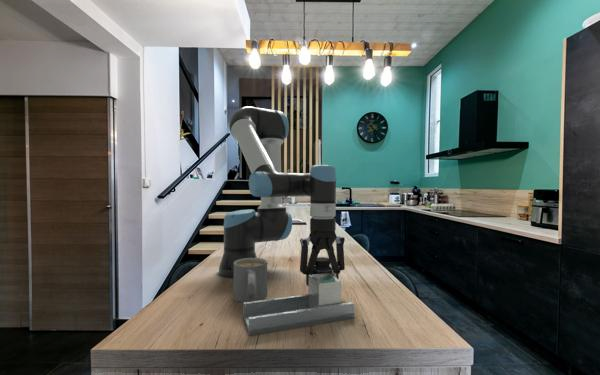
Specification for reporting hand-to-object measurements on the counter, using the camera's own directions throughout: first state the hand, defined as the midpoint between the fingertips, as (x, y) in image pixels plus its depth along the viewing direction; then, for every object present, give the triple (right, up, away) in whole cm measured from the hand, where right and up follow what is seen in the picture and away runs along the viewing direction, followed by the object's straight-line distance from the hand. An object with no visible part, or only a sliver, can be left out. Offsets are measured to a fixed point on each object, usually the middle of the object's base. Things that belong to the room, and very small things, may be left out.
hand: (322, 295), depth 84 cm
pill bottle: (0, -1, 0) cm, 1 cm away
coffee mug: (-21, -1, -1) cm, 21 cm away
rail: (-7, 0, -13) cm, 15 cm away
